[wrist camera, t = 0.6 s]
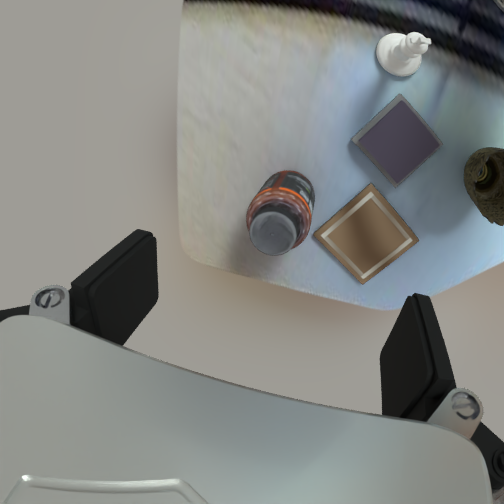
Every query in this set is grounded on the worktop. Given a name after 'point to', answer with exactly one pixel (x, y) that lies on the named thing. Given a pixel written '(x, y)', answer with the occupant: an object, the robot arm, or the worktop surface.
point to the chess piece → (401, 52)
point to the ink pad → (397, 140)
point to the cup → (487, 182)
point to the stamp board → (366, 234)
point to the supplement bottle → (281, 213)
